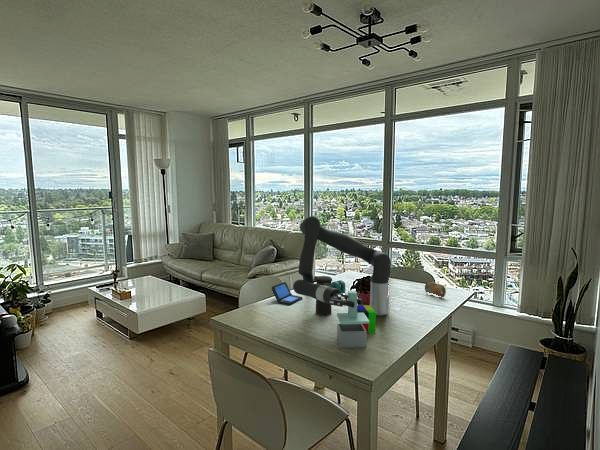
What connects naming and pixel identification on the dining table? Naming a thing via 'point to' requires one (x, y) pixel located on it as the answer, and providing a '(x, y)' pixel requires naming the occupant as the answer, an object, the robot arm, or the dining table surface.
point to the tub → (351, 335)
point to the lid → (352, 312)
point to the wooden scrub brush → (435, 288)
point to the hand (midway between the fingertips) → (357, 303)
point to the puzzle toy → (370, 315)
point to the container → (321, 306)
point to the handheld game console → (284, 294)
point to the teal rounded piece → (339, 285)
